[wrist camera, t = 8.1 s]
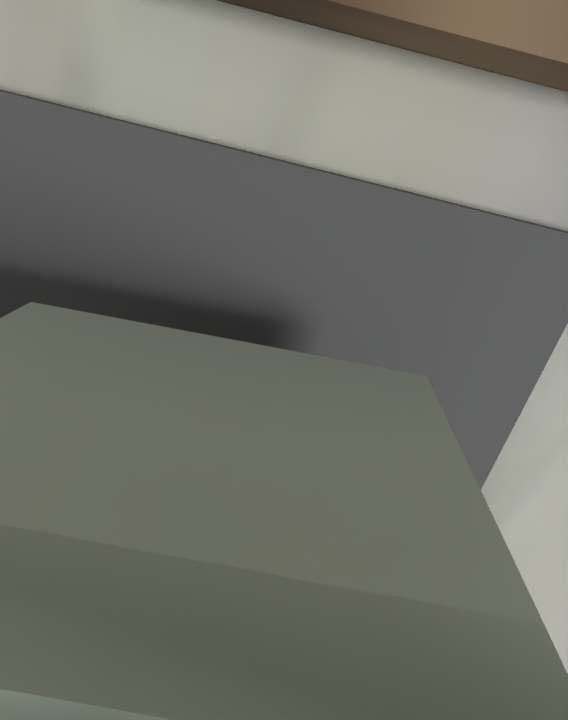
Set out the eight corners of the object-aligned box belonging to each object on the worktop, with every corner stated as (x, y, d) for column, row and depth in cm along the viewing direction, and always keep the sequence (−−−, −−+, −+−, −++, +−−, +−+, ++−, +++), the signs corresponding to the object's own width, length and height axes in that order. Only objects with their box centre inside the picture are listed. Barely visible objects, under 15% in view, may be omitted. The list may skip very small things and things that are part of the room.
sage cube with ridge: (426, 376, 7) (683, 917, 2) (338, 634, 9) (359, 1154, 5) (31, 302, 7) (-672, 677, 2) (47, 581, 9) (-246, 1050, 5)
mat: (589, 237, 8) (608, 243, 8) (391, 632, 13) (395, 653, 12) (-26, 83, 8) (-52, 78, 7) (-4, 545, 12) (-18, 563, 12)
